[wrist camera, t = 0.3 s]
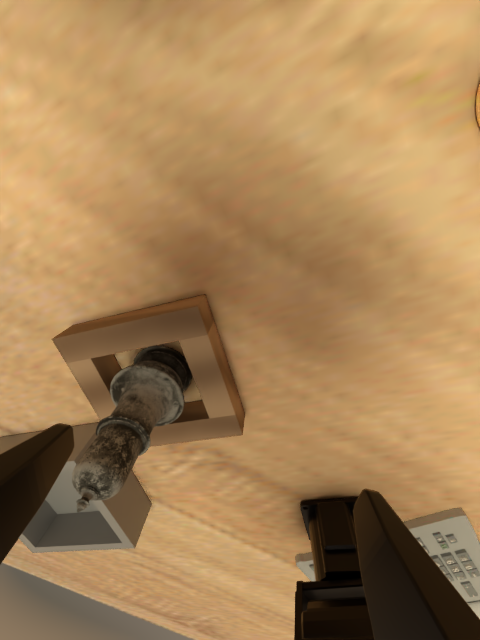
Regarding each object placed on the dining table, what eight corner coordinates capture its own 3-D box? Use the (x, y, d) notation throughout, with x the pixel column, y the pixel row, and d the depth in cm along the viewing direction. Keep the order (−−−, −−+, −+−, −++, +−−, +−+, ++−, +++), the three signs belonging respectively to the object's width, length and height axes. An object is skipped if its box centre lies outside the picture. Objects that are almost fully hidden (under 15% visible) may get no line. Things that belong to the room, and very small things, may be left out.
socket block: (244, 413, 25) (242, 435, 23) (130, 429, 28) (118, 450, 26) (205, 294, 21) (197, 306, 19) (72, 325, 23) (51, 339, 21)
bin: (151, 504, 33) (134, 548, 28) (60, 511, 35) (32, 552, 31) (102, 421, 28) (74, 460, 24) (0, 437, 30) (-42, 474, 26)
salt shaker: (205, 389, 25) (156, 540, 14) (150, 403, 26) (65, 551, 15) (177, 334, 23) (93, 461, 12) (118, 352, 24) (-6, 482, 13)
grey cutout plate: (534, 634, 33) (373, 654, 39) (516, 604, 35) (367, 627, 41) (474, 529, 26) (289, 573, 32) (457, 501, 28) (288, 547, 34)
